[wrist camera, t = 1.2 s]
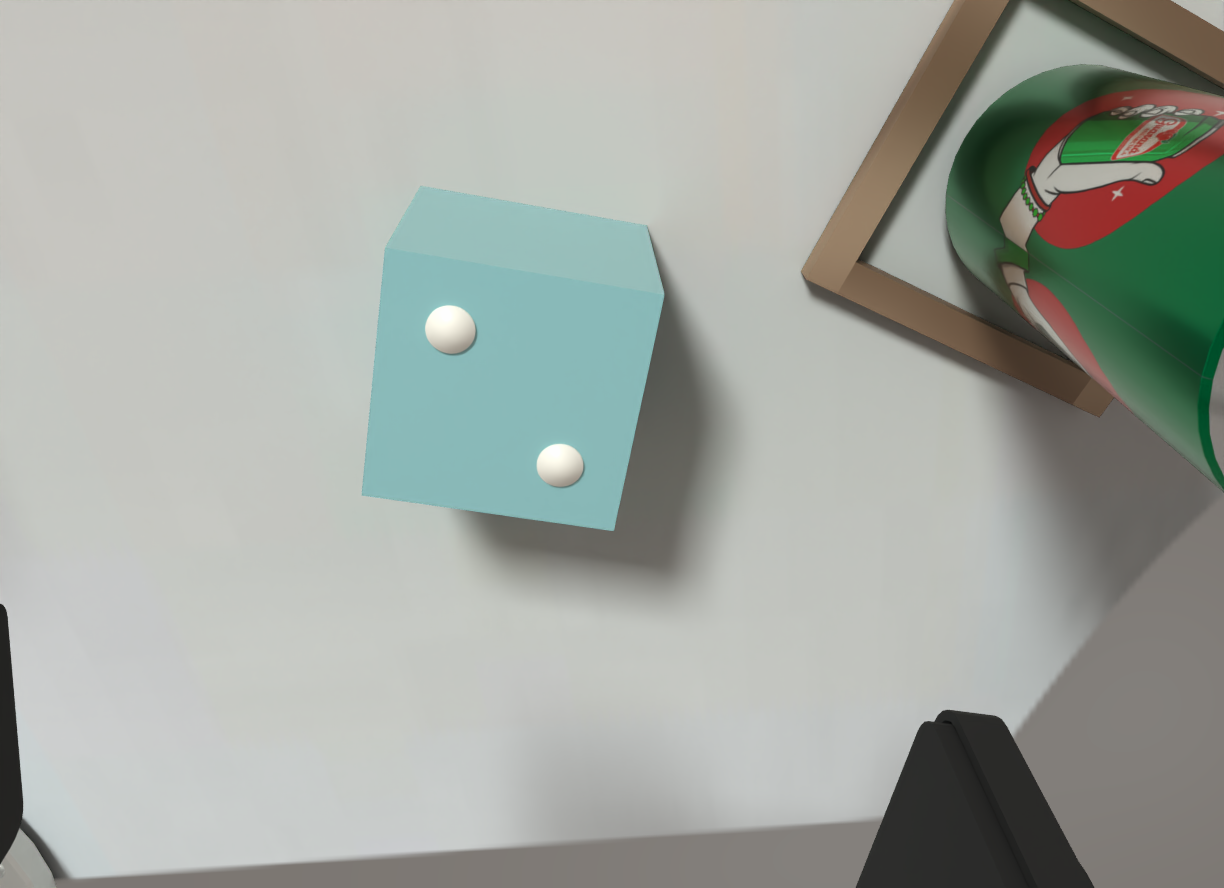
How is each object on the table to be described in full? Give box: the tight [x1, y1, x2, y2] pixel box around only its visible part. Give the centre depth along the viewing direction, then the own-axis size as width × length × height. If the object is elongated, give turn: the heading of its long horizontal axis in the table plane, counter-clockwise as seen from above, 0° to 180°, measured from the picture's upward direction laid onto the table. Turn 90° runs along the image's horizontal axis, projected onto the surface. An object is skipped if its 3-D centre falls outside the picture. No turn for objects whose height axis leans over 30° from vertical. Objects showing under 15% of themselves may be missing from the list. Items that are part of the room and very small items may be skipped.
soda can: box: [946, 64, 1224, 492], centre depth 18 cm, size 5×5×12 cm
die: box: [362, 186, 665, 531], centre depth 22 cm, size 5×5×5 cm
